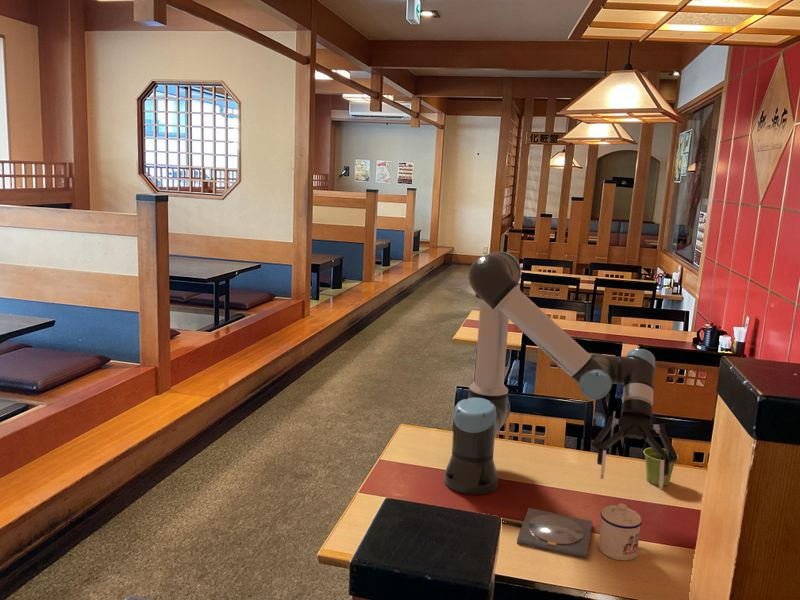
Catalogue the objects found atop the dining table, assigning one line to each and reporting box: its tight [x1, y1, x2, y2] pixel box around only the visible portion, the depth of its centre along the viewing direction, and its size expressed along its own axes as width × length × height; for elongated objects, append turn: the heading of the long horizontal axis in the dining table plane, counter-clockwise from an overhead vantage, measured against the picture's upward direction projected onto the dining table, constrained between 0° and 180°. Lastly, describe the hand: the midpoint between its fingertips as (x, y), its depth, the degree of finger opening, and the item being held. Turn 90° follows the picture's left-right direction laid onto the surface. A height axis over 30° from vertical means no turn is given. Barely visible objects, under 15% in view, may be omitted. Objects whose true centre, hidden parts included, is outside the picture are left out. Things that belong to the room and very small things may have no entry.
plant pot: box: [642, 447, 679, 487], centre depth 186 cm, size 9×9×9 cm
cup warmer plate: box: [501, 507, 593, 560], centre depth 157 cm, size 23×16×2 cm
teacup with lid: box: [598, 502, 643, 561], centre depth 150 cm, size 12×9×12 cm
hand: (631, 482), depth 156 cm, fingers open, 13 cm apart
